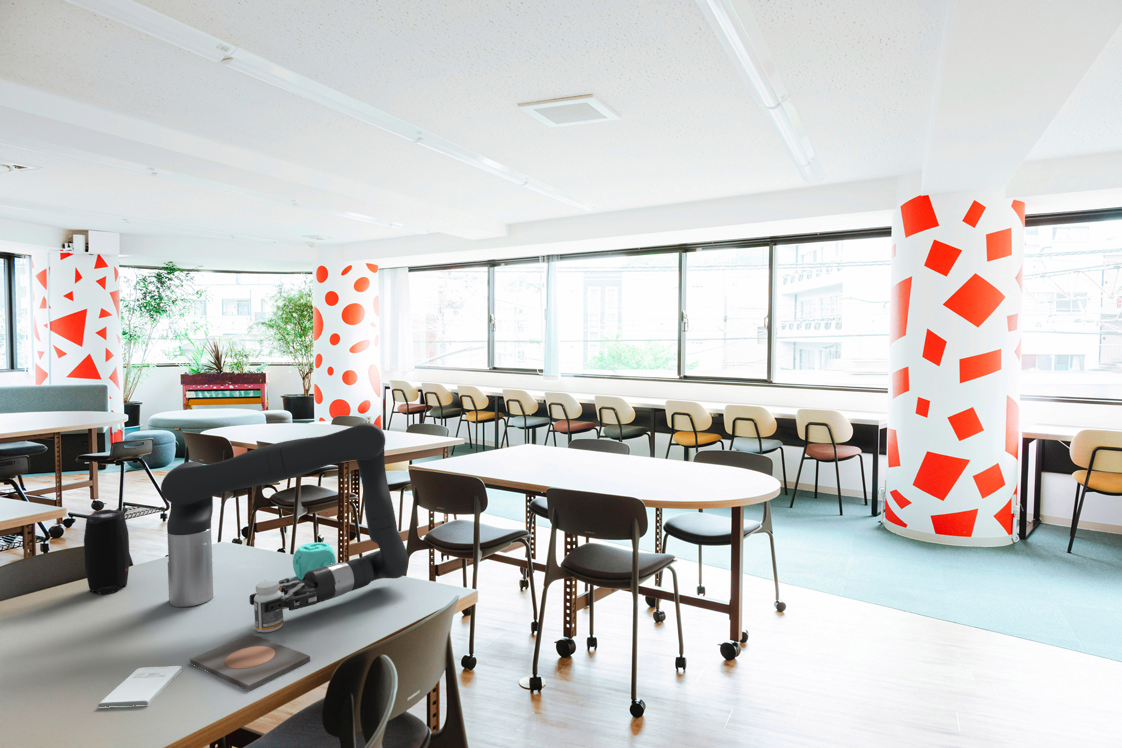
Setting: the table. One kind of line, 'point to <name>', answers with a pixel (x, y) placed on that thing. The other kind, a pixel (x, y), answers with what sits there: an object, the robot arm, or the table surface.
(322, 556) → the decorative dice
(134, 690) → the external hard drive
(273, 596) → the pill bottle
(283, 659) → the dark grey flat slab
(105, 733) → the table surface
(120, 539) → the portable speaker
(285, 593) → the robot arm
